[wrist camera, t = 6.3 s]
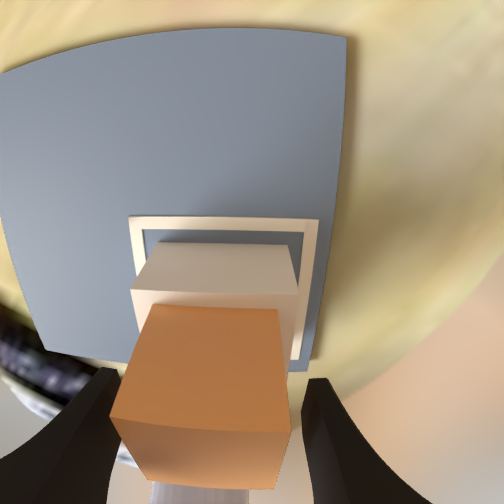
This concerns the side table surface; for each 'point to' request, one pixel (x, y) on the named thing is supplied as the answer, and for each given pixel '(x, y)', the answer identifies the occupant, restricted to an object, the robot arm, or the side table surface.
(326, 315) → the side table surface
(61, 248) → the board
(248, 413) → the orange block
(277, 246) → the base block
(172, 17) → the side table surface
